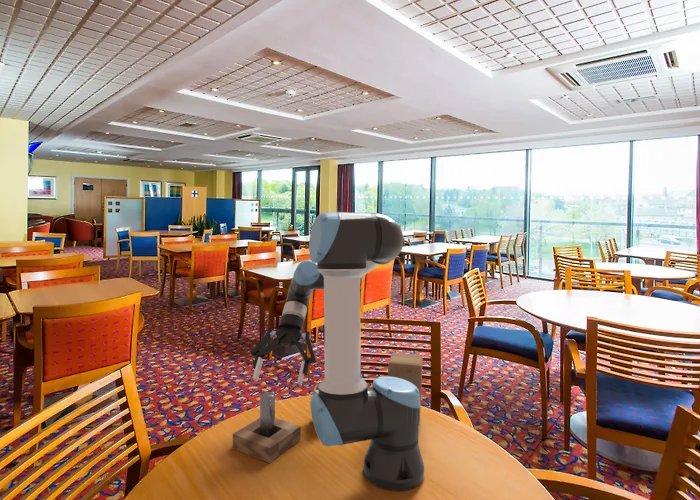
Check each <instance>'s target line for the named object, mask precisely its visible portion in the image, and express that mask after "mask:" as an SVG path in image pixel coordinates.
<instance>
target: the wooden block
mask: <svg viewBox="0 0 700 500" xmlns="http://www.w3.org/2000/svg"><path fill="white" fill-rule="evenodd" d="M423 359H424V358H423V356H422V355H420V354H412V353H411V354H410V353H402V352H401V353H400V352H392V353H391V355H390V358H389V361H388V364H387V365H388V367H387V368H388V369H387V376H390V377H397V378H401V379H404V380H407V381H409V382H411V383H412V384H414V385H415V386H416V387H417V388H418V390H419V393H420V405H421V404H422V403H421V402H422V382H423V379H422V378H423ZM421 406H422V405H421ZM421 408H422V407H420V410H421ZM420 419H421V412H420V413H419V424H420V422H421V420H420Z"/></svg>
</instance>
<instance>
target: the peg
mask: <svg viewBox="0 0 700 500" xmlns="http://www.w3.org/2000/svg"><path fill="white" fill-rule="evenodd" d="M259 406H260V407H259V418H260V435H262V436H264V437H267V438H270V437H271V436H272V435H274V434H275V418H276V393H274V392H272V391H266V392H262V393H261V394H260V395H259Z"/></svg>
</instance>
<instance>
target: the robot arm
mask: <svg viewBox="0 0 700 500" xmlns="http://www.w3.org/2000/svg"><path fill="white" fill-rule="evenodd" d="M403 247H404V235H403V231H402V229H401V227H400V226H399V224H398V223H397V222H396V221H395V220H394V219H392V218H391V217H390V216H388V215H386V214H383V213H379V212H371V213H370V212H369V213H368V212H346V211H333V212H332V211H331V212H329V211H328V212H323V213H320V214H318V215H317V216H316V218H315V219H314V221H313V224H312V226H311V230H310V234H309V240H308V252H309V254H308V255H309V260H308V259H307V260H306V259H305V260H302V261H300V262H299V263H298V264H297V265H296V268H295V270H294V273H293V276H292V279H291V281H290V283H289V287H288V291H287V295H286V300H285V303H284V306H283V310H282V312H281V317H280V321H279V325H278V329H277V330H272V328H268V329H267V331H266V334H265V335H264V336H263V337H262V338H261V339H260V341H259V342H258V343H257V344H256V345H255V347H254V348H253V349H252V350H251V351H250V355H251V357H252V358H253V359H254V361H253V365H252V368H253V370H254V371H253V374H252V379H253V381H254V382H256V383H257V382H258V380H259V377H260V375H261V374H260V373H261V371H262V366H263V362H264V360H263V359H264V358H265V357H266V356H267V355H269V354H270V353H271V352H273V351H274V350H275V349H277V348H279V347H280V346H282V347H286V346H287V347H293V346H295V348H296V349H297V351H298V352H299V354H300V356H301V357H302V359H303V360H302V361H301V364H300V369H299V374H298V376H297V377H298V378H297V384H298V387H299V386H300V387H302V385H303V382H304V377H305V375H308V373H309V369H310V366H311V365H310V364H315V363H316V364H317V357H316V354H315V353H314V348H313V345H312V342H311V339H312V336H311V332H310V331H306V332H303V329H304V324H305V319H306V315H307V312H308V306H309V302H310V298H311V297H312V296H311V295H312V293H313V291H314V290H315V291H316V290H323V310H324V311H323V315H324V316H323V322H324V323H323V326H324V327H323V328H324V329H323V331H324V337H323V338H324V346H323V347H324V377H323V379H322V380H321V381H320V382H319V383H318V384H319V386H318V394H315V395H313V394H312V395H311V397H310V413H311V419H312V423H313V427H314V430H315V432H316V436H317V438H318V441H320V443H321V444H322V445H323V446H325V447H334V446H335V447H336V446H339V447H341V446H344V445H349V444H354V443H359V442H365V441H370V442H369V445H368V447H367V450H366V453H365V456H364V457H363V468H362V469H363V474H364V476H365V478H366V479H367V480H368V481H369V483H371V484H372V485H374V486H376V487H378V488H381V489H384V490H387V491H395V492H396V491H397V492H401V491H403V492H404V491H409V490H412V489H414V488H417V487H418V486H419V485H420V484H421V483H422V482H423V480H424V478H425V463H424V460H423V457H422V453H421V449H420V445H419V433H420V432H419V431H420V423H419V413H420V414H421V409H420V407H421V406H422V405H420V393H419V390H418V388H417V387H416V386H415V385H414V384H412V383H411V382H409V381H407V380H404V379H401V378H397V377H390V376H388V375H386V376H385V375H383V376H382V375H381V376H378V377H376V378H374V379H373V382H372V383H371V387H368V383H367V382H366V380H365V379H364V378H363V377H362V352H361V351H362V350H361V349H362V348H361V345H362V343H361V342H362V341H361V339H362V337H361V335H362V333H361V283H362V281H363V280H362V279H363V277H364V276H366V275H367V274H369V273H370V272H371V271H373V270H374V269H375V268H377V267H378V266H380V265H383V266H384V265H386V264H389V263H390V262H392V261H394V259H396V258H397V257H398V256H399V255H400V253H401V252H402V250H403ZM302 338H303V340H304V341H305V342H306V345H307V346H306V347H307V349H308V352H309V355H310V357H308V355H307V353H306V352H305V350H304V349H303V347H302V346H301V344H300V342H299V341H301V339H302ZM271 340H272V341H271ZM421 408H422V407H421Z"/></svg>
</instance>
